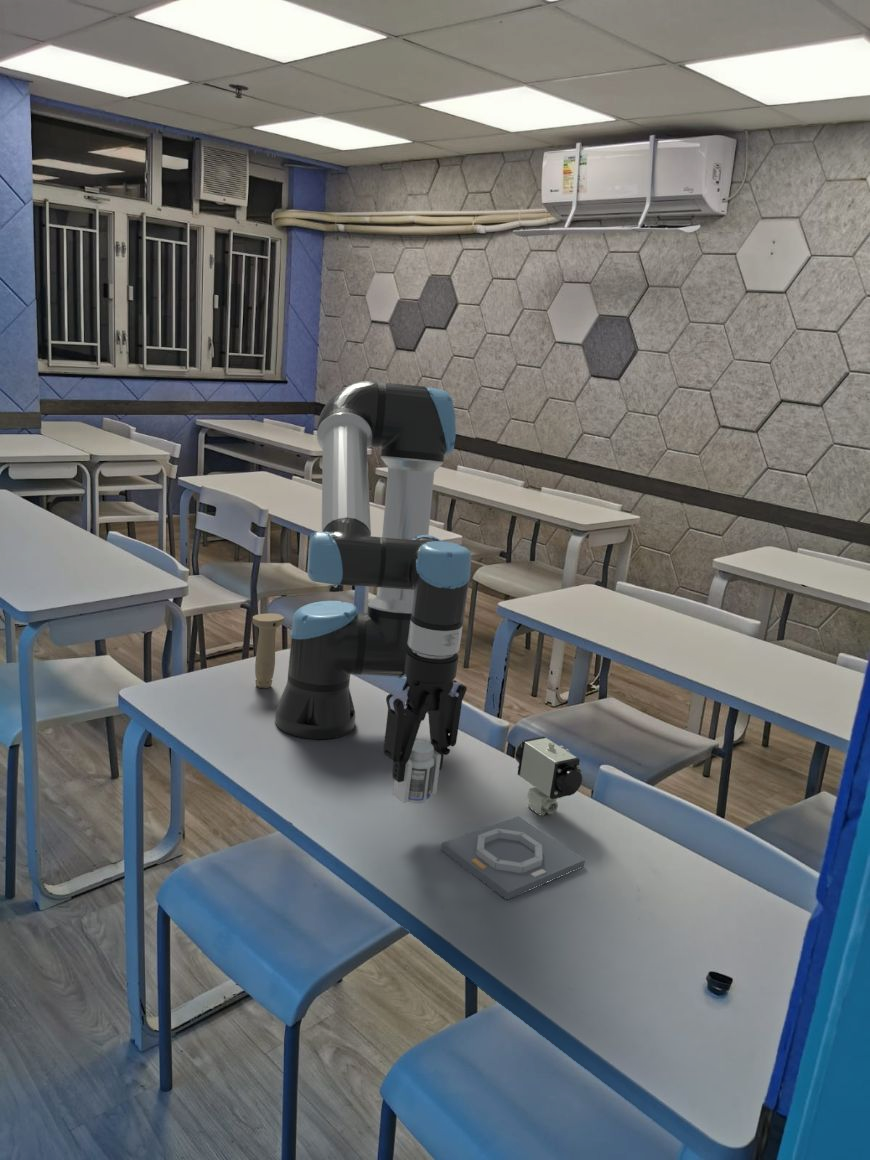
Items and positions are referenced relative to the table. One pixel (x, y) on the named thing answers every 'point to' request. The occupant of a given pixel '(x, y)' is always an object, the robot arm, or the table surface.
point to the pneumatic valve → (547, 773)
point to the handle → (266, 647)
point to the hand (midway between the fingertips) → (414, 793)
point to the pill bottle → (421, 771)
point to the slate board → (512, 856)
